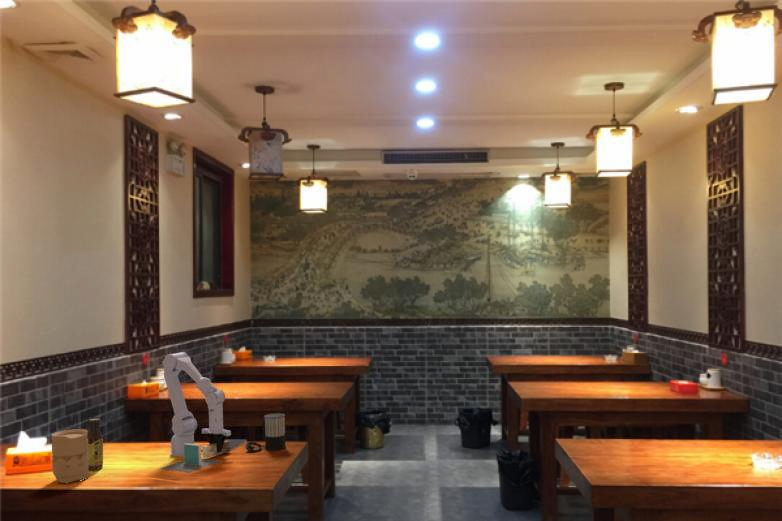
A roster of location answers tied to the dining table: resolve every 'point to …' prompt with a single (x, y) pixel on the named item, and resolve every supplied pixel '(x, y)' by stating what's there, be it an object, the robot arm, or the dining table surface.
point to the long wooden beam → (215, 449)
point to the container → (70, 455)
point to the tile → (192, 454)
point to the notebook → (235, 443)
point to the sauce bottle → (95, 445)
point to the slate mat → (189, 466)
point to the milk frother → (271, 434)
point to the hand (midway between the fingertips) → (216, 451)
